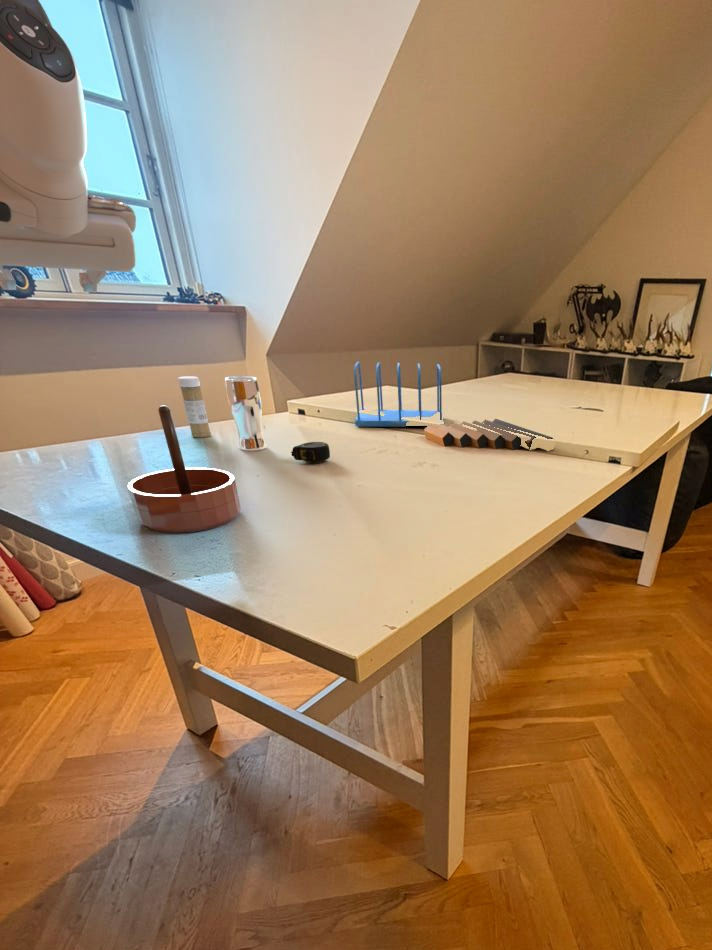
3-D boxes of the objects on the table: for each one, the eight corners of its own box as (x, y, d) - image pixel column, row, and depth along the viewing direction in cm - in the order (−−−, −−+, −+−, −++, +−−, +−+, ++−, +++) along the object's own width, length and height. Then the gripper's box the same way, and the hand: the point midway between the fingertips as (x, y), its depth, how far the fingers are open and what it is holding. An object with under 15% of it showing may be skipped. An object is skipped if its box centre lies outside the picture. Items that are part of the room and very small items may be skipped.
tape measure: (312, 456, 124) (310, 439, 122) (337, 460, 122) (335, 443, 120) (292, 462, 119) (289, 445, 117) (317, 467, 116) (315, 449, 114)
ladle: (174, 519, 86) (144, 409, 77) (173, 509, 89) (143, 403, 80) (208, 515, 88) (182, 407, 79) (206, 506, 91) (181, 402, 82)
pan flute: (555, 450, 138) (500, 430, 155) (557, 436, 136) (500, 418, 153) (474, 461, 126) (423, 438, 143) (474, 446, 124) (423, 424, 141)
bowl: (139, 540, 80) (126, 501, 77) (139, 508, 91) (128, 472, 88) (247, 526, 87) (240, 489, 83) (235, 498, 98) (228, 464, 94)
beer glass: (250, 443, 131) (238, 375, 123) (274, 446, 130) (264, 377, 122) (230, 449, 126) (216, 378, 118) (255, 452, 124) (242, 381, 116)
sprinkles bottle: (206, 433, 138) (193, 375, 131) (214, 436, 136) (202, 377, 128) (188, 435, 135) (174, 376, 128) (196, 438, 133) (182, 378, 125)
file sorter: (441, 417, 168) (441, 362, 160) (444, 429, 154) (445, 369, 145) (360, 415, 165) (356, 359, 157) (355, 427, 151) (350, 366, 142)
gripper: (124, 182, 70) (120, 271, 81) (-87, 150, 57) (-58, 262, 68) (148, 223, 70) (141, 308, 81) (-58, 201, 57) (-33, 305, 68)
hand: (49, 287), depth 74 cm, fingers open, 8 cm apart
